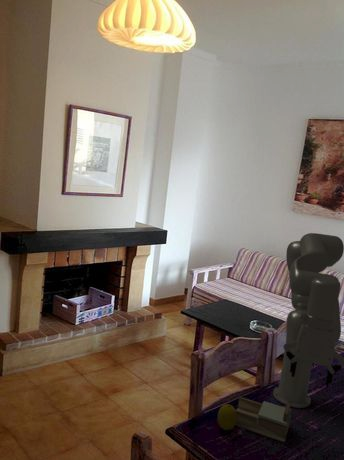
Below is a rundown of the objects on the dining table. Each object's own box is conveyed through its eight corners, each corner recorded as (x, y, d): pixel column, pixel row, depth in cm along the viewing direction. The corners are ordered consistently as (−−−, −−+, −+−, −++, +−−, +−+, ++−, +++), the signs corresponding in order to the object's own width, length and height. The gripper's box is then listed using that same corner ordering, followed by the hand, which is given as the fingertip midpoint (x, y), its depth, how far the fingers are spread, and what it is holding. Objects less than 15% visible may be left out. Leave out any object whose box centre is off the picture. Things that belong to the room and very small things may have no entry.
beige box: (237, 409, 133) (239, 396, 132) (288, 426, 127) (291, 412, 126) (230, 423, 125) (232, 409, 124) (284, 442, 119) (287, 427, 118)
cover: (263, 403, 129) (264, 393, 129) (290, 411, 126) (292, 402, 126) (257, 416, 121) (259, 406, 121) (286, 426, 118) (288, 415, 118)
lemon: (234, 437, 118) (238, 411, 117) (215, 433, 119) (218, 407, 118) (235, 426, 123) (239, 401, 122) (216, 422, 124) (220, 397, 123)
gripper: (286, 318, 117) (277, 376, 119) (352, 334, 110) (341, 394, 112) (290, 311, 124) (281, 366, 126) (352, 326, 117) (342, 383, 119)
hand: (309, 379), depth 119 cm, fingers open, 9 cm apart
